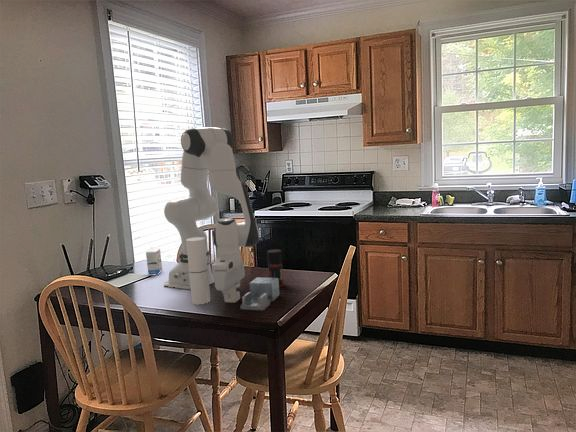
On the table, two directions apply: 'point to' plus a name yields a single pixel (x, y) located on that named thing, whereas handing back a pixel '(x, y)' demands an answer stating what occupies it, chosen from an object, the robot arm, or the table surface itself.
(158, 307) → the table surface
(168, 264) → the table surface
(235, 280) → the robot arm
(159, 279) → the table surface
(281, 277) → the deodorant
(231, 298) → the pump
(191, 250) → the cylindrical container
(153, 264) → the ink box
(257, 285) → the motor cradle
